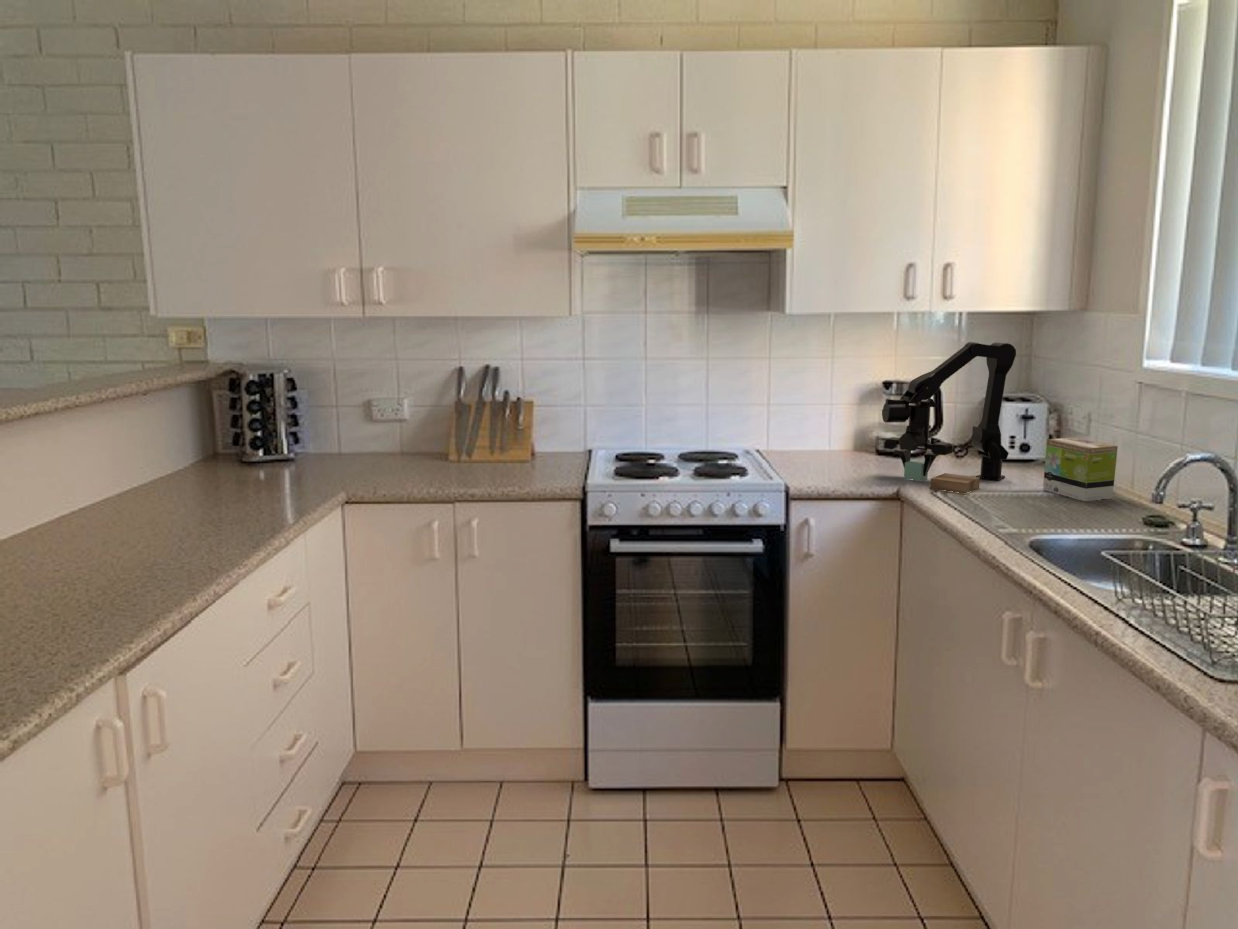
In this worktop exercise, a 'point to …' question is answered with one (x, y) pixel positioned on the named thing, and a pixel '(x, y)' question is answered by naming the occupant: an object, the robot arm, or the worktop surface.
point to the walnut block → (954, 483)
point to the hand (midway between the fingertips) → (915, 474)
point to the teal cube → (914, 470)
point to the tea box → (1080, 468)
